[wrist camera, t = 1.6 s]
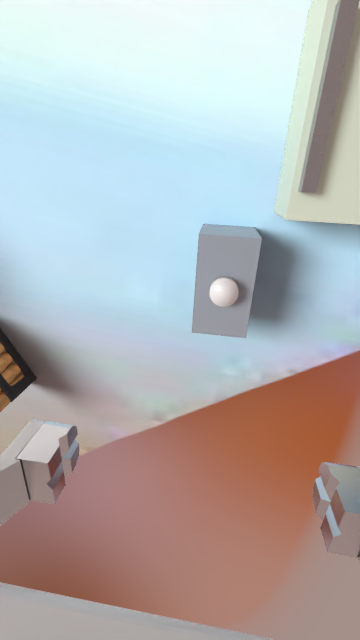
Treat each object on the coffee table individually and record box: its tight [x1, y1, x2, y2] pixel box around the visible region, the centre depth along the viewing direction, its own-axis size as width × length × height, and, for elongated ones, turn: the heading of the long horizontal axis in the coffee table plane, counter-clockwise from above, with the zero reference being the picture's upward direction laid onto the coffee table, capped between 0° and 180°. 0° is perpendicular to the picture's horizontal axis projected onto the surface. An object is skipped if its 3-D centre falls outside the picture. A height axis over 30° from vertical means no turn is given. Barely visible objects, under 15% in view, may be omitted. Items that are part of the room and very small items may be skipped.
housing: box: [192, 224, 262, 338], centre depth 28 cm, size 9×5×7 cm, turn 177°
